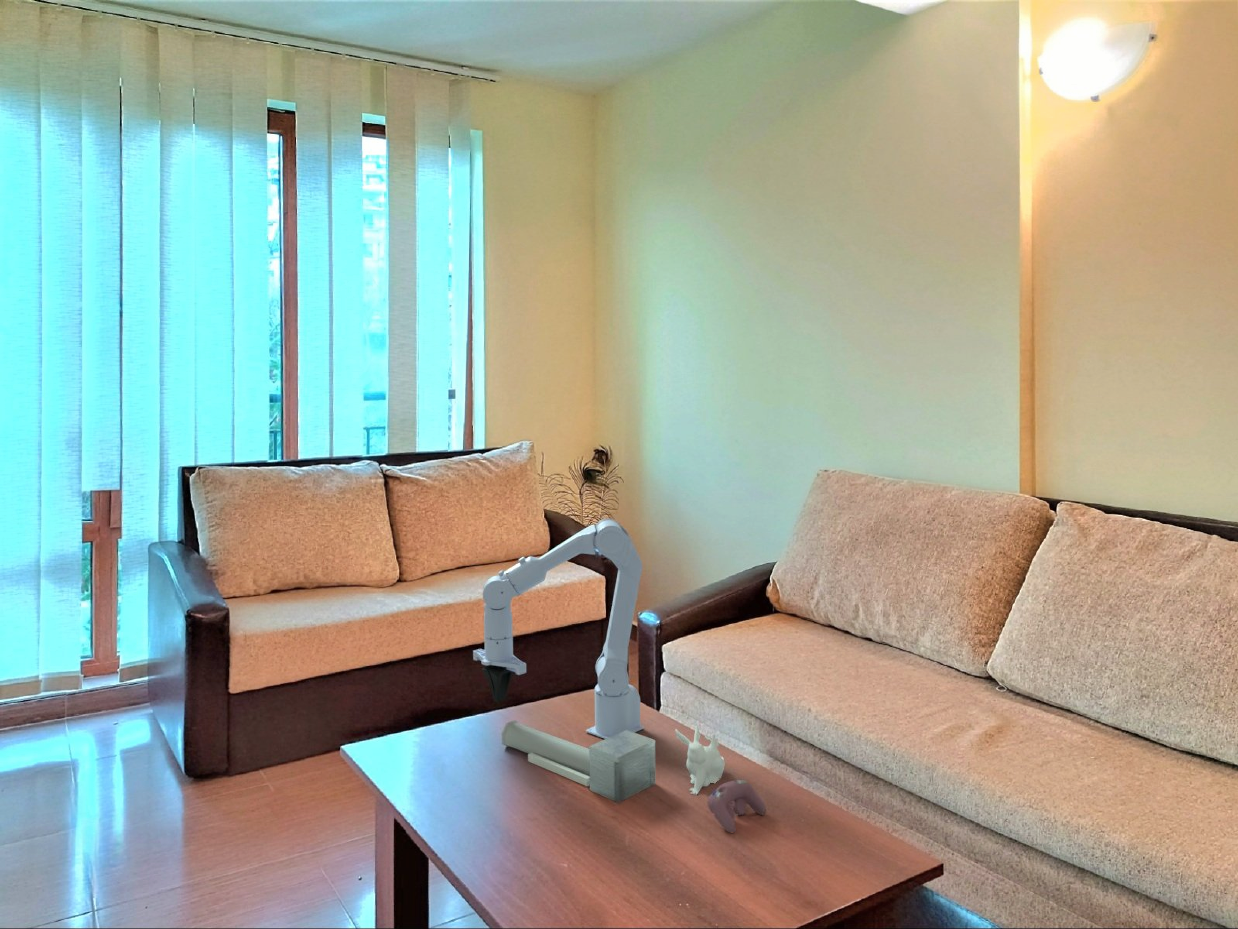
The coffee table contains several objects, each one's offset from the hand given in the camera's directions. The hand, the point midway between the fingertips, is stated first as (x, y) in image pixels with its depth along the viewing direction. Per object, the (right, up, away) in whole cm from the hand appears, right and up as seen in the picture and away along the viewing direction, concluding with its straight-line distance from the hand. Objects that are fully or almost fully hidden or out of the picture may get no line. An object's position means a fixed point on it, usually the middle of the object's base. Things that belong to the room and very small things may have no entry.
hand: (499, 700), depth 184 cm
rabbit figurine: (+39, -10, -19) cm, 44 cm away
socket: (+25, -10, -22) cm, 35 cm away
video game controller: (+44, -11, -34) cm, 57 cm away
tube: (+12, -9, -11) cm, 19 cm away
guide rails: (+16, -9, -13) cm, 22 cm away
